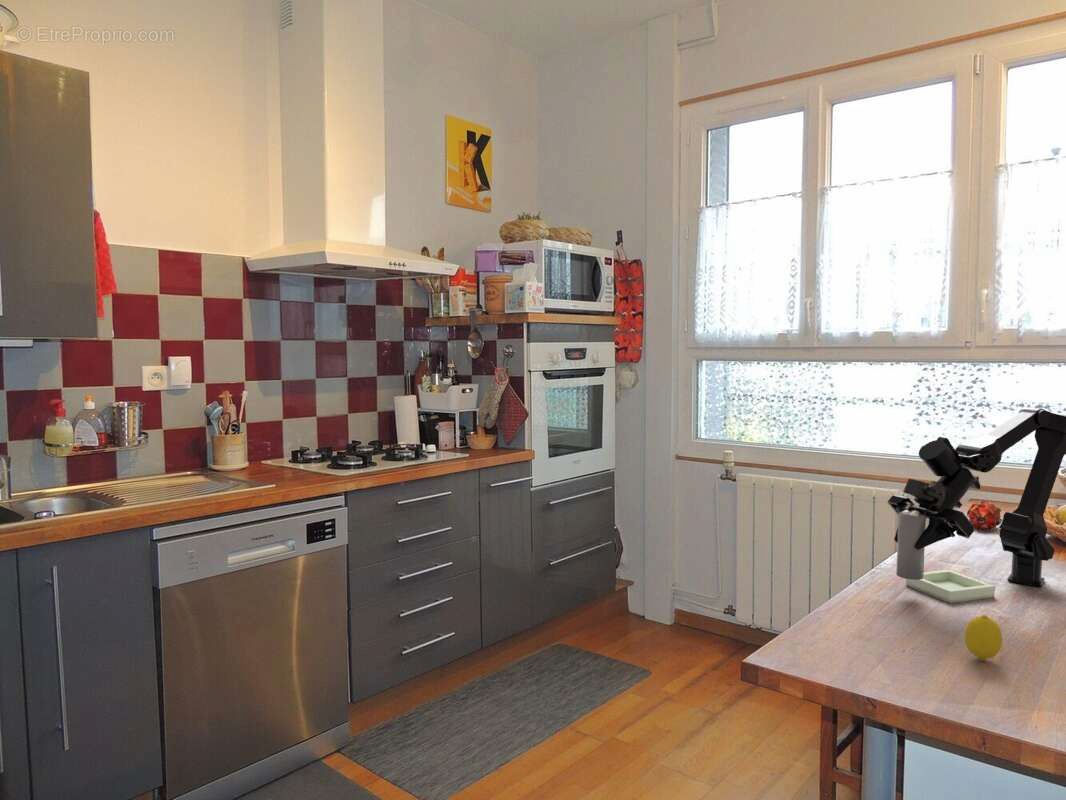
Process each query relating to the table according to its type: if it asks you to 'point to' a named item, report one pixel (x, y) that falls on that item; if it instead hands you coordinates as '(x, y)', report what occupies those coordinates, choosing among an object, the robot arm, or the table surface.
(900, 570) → the grey can
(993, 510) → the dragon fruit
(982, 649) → the lemon
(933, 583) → the sage dish
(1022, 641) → the table surface
